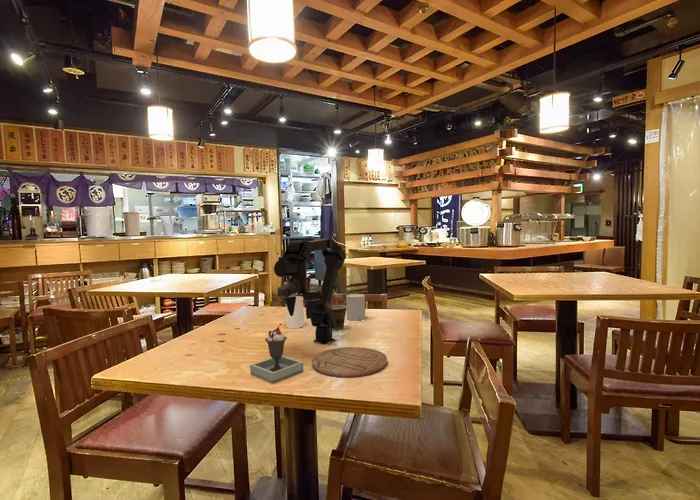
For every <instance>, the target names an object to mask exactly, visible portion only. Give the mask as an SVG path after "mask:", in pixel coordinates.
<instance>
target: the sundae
mask: <svg viewBox="0 0 700 500" xmlns="http://www.w3.org/2000/svg"><path fill="white" fill-rule="evenodd" d="M280 326H282V323H279V325H278V326H277V327H276V329H273V330H269V331H268V337H267V338H264V341H265V342H266V343H267V346H268V352H269V356H270V358H273V359H274V360H275V366H274V368H271V369H270V370H269V371H272V372H275V371H278V370H280V369H283V367H280V366H279V359H280V358H281V357H282V356H284V348H285V343H286V340H287V339H288V337H287V336H284V335H283V333H282V331H281V329H280Z"/></svg>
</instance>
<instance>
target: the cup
mask: <svg viewBox="0 0 700 500" xmlns="http://www.w3.org/2000/svg"><path fill="white" fill-rule="evenodd" d="M297 294H298V293H297ZM303 301H304V299H303V297H301V296H296V302H295V308H294V313H293V316H290V314H289V311H288V308H287V305H286V304H285V314H286V315H285V317H286V328H287V327H288V329H290V328H296V329H301V328H300V327H302V328H304V327H305V315H304V314H305V313H304V312H305V311H304V302H303ZM303 326H304V327H303Z"/></svg>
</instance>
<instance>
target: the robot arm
mask: <svg viewBox="0 0 700 500" xmlns="http://www.w3.org/2000/svg"><path fill="white" fill-rule="evenodd" d="M288 242H289V243H288V245H287V246H286V248H285V251H284V253H283V255H282V256H281V257H280V256H279V257H278V260H277V261H276V262H275V263H274V266H273V272H274V274H275V275H276V276H277V277H279V278H282V277H288V279H287V282H286V283H283V284H282V285H280V286H278V287H277V297H279V299H280V300H282V301H283V302H284V303H285V306H286V305H287V308H288V311H289V314H290V316H293V313H294V308H295V302H296V296H301V297H303V305H305V316H306V317H305V318H306V320H309V319H310V322H311V326H312V327H315V330H314V331H315V339H313V342H314V343H319V344H323V345H326V344H329V343H332V342H335V341H336V339H335V338H333V330H332V328H334V326H336V320H335V318H334V317H333V316H332V307H331V302H332V297H333V293H334V288H335V285H336V284H335V283H336V282H337V281H336V280H337V277H338V276H337V275H338V272H339V270H340V269H341V268H342V267H343V266H344V263H345V260H346V252H345V250H344V249H343V248H342V246H341V245H339V244H337V243H336V242H335V241H334V239H332V238H321V239H315V240H306V239H305V240H291V241H288ZM315 251H321V255H322V256H323V257H324V263H325V264H324V265H325V273H324V275H323V280H322V284H321V289H320V290H315V289H313V290H310V287H308V281H310V276H307V275H308V269H307V268H308V264H307V262H308V263H310V262H311V260H310V258H308V257H307V256H308V255H310V254H311V253H312V252H315ZM297 293H298V294H297Z"/></svg>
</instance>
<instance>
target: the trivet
mask: <svg viewBox="0 0 700 500" xmlns="http://www.w3.org/2000/svg"><path fill="white" fill-rule="evenodd" d="M311 366H312V367H311V368H312V369H313V370H314V371H315V372H317V373H318V374H320V375H323V376H326V377H332V378H339V379H347V378H348V379H349V378H350V379H353V378H362V377H368V376H372V375H375V374H377V373H380V372H382V371H383V370H384V369H385V368H386V367H387V366H388V357H387V356H386V354H385V353H384V352H382V351H380V350H377V349H373V348H369V347H360V346H347V347H337V348H331V349H327V350H324V351H321V352H319V353H317V354H316V355H314V356H313V357H312V359H311Z"/></svg>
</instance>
